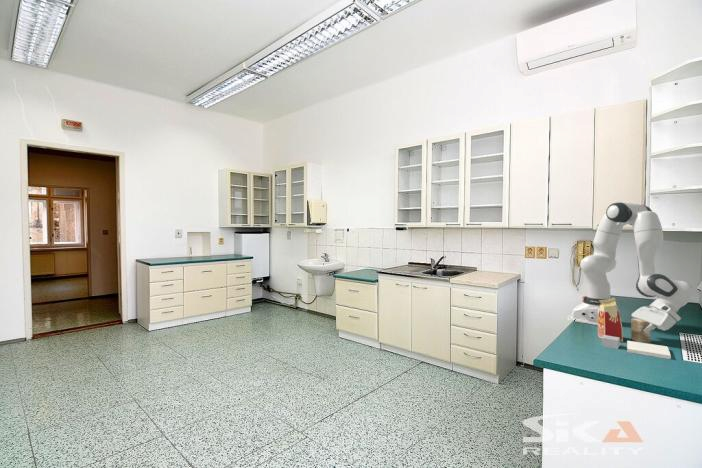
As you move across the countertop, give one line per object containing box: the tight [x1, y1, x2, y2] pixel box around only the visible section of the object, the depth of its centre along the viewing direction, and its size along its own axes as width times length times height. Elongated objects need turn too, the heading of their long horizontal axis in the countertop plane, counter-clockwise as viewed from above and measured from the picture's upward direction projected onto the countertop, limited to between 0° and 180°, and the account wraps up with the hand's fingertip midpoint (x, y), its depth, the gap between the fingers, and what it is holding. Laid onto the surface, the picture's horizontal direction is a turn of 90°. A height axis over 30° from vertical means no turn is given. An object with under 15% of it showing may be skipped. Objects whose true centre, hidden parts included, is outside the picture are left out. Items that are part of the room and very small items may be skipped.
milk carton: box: [597, 297, 624, 342], centre depth 171 cm, size 9×9×20 cm
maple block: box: [630, 318, 651, 344], centre depth 166 cm, size 5×5×10 cm
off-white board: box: [626, 340, 672, 360], centre depth 153 cm, size 14×14×2 cm
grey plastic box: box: [601, 335, 621, 350], centre depth 160 cm, size 6×6×4 cm
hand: (639, 329), depth 166 cm, fingers closed on maple block, 5 cm apart
